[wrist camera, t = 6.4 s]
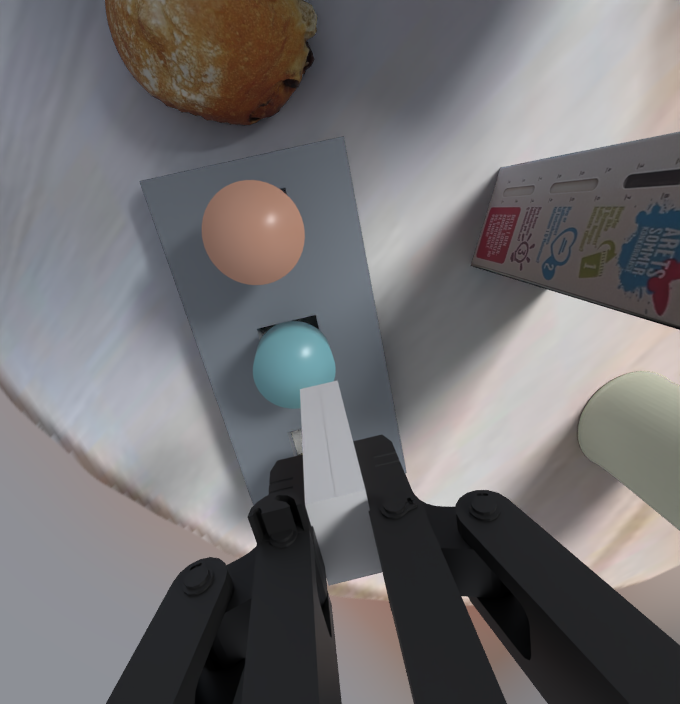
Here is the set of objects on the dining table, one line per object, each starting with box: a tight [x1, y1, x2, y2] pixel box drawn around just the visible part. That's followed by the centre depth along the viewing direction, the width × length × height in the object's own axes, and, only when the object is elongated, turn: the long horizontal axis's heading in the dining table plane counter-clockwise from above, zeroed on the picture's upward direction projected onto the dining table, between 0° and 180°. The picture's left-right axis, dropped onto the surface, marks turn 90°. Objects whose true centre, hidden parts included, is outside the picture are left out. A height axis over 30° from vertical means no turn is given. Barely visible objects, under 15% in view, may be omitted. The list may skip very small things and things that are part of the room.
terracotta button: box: [202, 180, 305, 285], centre depth 22 cm, size 5×5×4 cm
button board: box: [140, 136, 407, 505], centre depth 29 cm, size 24×12×2 cm, turn 12°
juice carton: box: [471, 132, 680, 330], centre depth 19 cm, size 7×7×22 cm
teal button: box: [253, 321, 336, 409], centre depth 26 cm, size 5×5×4 cm
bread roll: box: [105, 0, 317, 125], centre depth 22 cm, size 10×10×8 cm
